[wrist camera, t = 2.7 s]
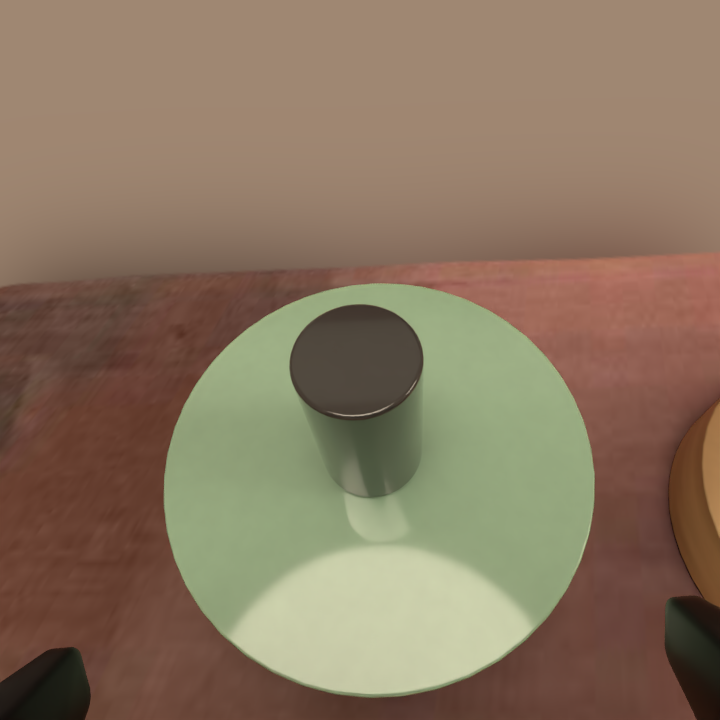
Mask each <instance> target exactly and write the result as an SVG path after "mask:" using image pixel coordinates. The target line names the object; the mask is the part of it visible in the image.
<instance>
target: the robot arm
mask: <svg viewBox="0 0 720 720" xmlns="http://www.w3.org/2000/svg"><path fill="white" fill-rule="evenodd" d="M665 650H666V654H667V658H668V661H669V663H670V665H671V667H672V669H673V671H674V673H675V675H676V677H677V679H678V682H679V684H680V686H681V688H682V690H683V692H684V694H685V696H686V698H687V700H688V702H689V704H690V706H691V708H692V711H693V713H694V715H695V717H696V719H697V720H720V607H718V606H716V605H714V604H712V603H710V602H709V601H707V600H705V599H703V598H701V597H698V596H681V597H672V598H670V599H668V600H667V603H666V608H665ZM90 697H91V694H90V687H89V683H88V679H87V675H86V672H85V668H84V664H83V661H82V657H81V654H80V652H79V651H78V649H76V648H74V647H68V648H55V649H50V650H47V651H46V652H44V653H43V654H41V655H40V656H38V657H37V658H35V659H34V660H33V661H31V662H30V663H28V664H27V665H25V666H24V667H22V668H21V669H19V670H18V671H17V672H15V673H14V674H12V675H11V676H9V677H8V678H6V679H5V680H3V681H2V682H0V720H85V717H86V714H87V712H88V708H89V704H90Z"/></svg>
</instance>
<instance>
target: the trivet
mask: <svg viewBox="0 0 720 720" xmlns="http://www.w3.org/2000/svg"><path fill="white" fill-rule="evenodd" d="M669 506H670V515H671V520H672V525H673V531H674V534H675V538H676V541H677V544H678V547H679V550H680V553H681V555H682V558H683V560H684V562H685V564H686V566H687V568H688V571H689V573H690V575H691V577H692V579H693V580H694V582H695V584H696V585H697V587H698V589H699V590H700V592H701V594H702V595H703V597H704V599H705V600H707V601H709V602H710V603H712V604H714V605H716V606H718V607H720V398H719V399H718V400H717V401H716V402H715V403H714V404H713V405H712V406H711V407H710V408H709V409H708V410H707V411H706V412H705V413H704V414H703V415H702V416H701V417H700V418H699V419H698V420H697V421H696V422H695V423H694V424H693V425H692V426H691V428H690V429H689V431H688V432H687V433H686V435H685V436H684V438H683V439H682V441H681V443H680V446H679V448H678V450H677V452H676V454H675V457H674V461H673V465H672V469H671V473H670V483H669Z"/></svg>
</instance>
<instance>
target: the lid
mask: <svg viewBox="0 0 720 720" xmlns="http://www.w3.org/2000/svg"><path fill="white" fill-rule="evenodd" d="M594 497H595V474H594V466H593V458H592V451H591V446H590V442H589V438H588V435H587V431H586V427H585V424H584V421H583V418H582V416H581V414H580V411H579V409H578V407H577V404H576V402H575V400H574V397H573V396H572V394H571V392H570V391H569V389H568V387H567V385H566V384H565V382H564V380H563V379H562V377H561V375H560V374H559V373H558V371H557V370H556V369H555V367H554V366H553V365H552V364H551V362H550V361H549V360H548V358H547V357H546V356H545V355H544V354H543V353H542V352H541V351H540V350H539V349H538V348H537V347H536V346H535V345H534V344H533V343H532V342H531V341H530V340H529V339H528V338H527V337H526V336H525V335H524V334H522V333H521V332H520V331H519V330H517V329H516V328H515V327H513V326H512V325H511V324H510V323H508V322H507V321H505V320H504V319H502V318H500V317H499V316H497V315H496V314H494V313H492V312H491V311H489V310H487V309H485V308H483V307H481V306H479V305H477V304H475V303H473V302H470V301H468V300H466V299H463V298H460V297H457V296H455V295H452V294H449V293H446V292H442V291H438V290H434V289H429V288H425V287H420V286H412V285H403V284H363V285H352V286H347V287H341V288H336V289H331V290H327V291H324V292H320V293H317V294H314V295H310V296H307V297H305V298H302V299H300V300H297V301H295V302H293V303H290V304H288V305H285V306H284V307H282V308H280V309H278V310H276V311H274V312H273V313H271V314H269V315H267V316H265V317H264V318H262V319H261V320H259V321H258V322H257V323H255V324H254V325H252V326H251V327H249V328H248V329H246V330H245V331H244V332H243V333H242V334H240V335H239V336H238V337H237V338H236V339H235V340H234V341H232V342H231V343H230V344H229V345H228V346H227V347H226V348H225V349H224V350H223V351H222V352H221V353H220V354H219V355H218V357H217V358H216V359H215V360H214V361H213V362H212V363H211V364H210V366H209V367H208V368H207V370H206V371H205V372H204V374H203V375H202V377H201V378H200V379H199V381H198V382H197V383H196V385H195V387H194V389H193V390H192V392H191V394H190V396H189V397H188V399H187V401H186V403H185V405H184V407H183V409H182V412H181V414H180V416H179V419H178V421H177V424H176V426H175V429H174V432H173V436H172V439H171V443H170V447H169V450H168V455H167V462H166V469H165V475H164V511H165V519H166V527H167V534H168V538H169V541H170V545H171V549H172V552H173V556H174V560H175V562H176V564H177V567H178V569H179V571H180V574H181V576H182V578H183V581H184V583H185V585H186V587H187V589H188V590H189V592H190V594H191V595H192V597H193V598H194V600H195V602H196V603H197V605H198V607H199V608H200V610H201V611H202V613H203V614H204V615H205V616H206V617H207V618H208V620H209V621H210V622H211V623H212V624H213V626H214V627H215V628H216V629H217V630H218V631H219V633H220V634H221V635H222V636H223V637H224V638H226V639H227V640H228V641H229V642H230V643H231V644H233V645H234V646H235V647H236V648H237V649H238V650H239V651H241V652H242V653H243V654H244V655H245V656H247V657H248V658H250V659H252V660H253V661H255V662H256V663H258V664H259V665H261V666H263V667H264V668H266V669H267V670H269V671H270V672H272V673H274V674H277V675H279V676H281V677H283V678H286V679H288V680H290V681H293V682H295V683H297V684H299V685H302V686H305V687H309V688H313V689H316V690H320V691H324V692H328V693H331V694H335V695H345V696H354V697H364V698H382V697H403V696H409V695H414V694H419V693H423V692H428V691H433V690H438V689H440V688H443V687H446V686H448V685H451V684H454V683H456V682H459V681H462V680H465V679H467V678H470V677H472V676H473V675H475V674H477V673H479V672H481V671H482V670H484V669H486V668H488V667H490V666H491V665H493V664H495V663H497V662H499V661H500V660H501V659H503V658H504V657H505V656H507V655H508V654H509V653H511V652H512V651H513V650H514V649H516V648H517V647H518V646H520V645H521V644H522V643H523V642H525V641H526V640H527V639H528V638H529V637H530V636H531V635H532V634H533V633H534V632H535V630H536V629H537V628H538V627H539V626H540V625H541V624H542V623H543V622H544V621H545V620H546V619H547V618H548V617H549V615H550V614H551V612H552V611H553V610H554V608H555V607H556V605H557V604H558V602H559V601H560V599H561V598H562V597H563V595H564V594H565V592H566V591H567V589H568V587H569V585H570V583H571V581H572V579H573V577H574V575H575V573H576V571H577V569H578V567H579V565H580V563H581V560H582V556H583V553H584V550H585V547H586V544H587V541H588V537H589V534H590V529H591V522H592V516H593V510H594Z"/></svg>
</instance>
